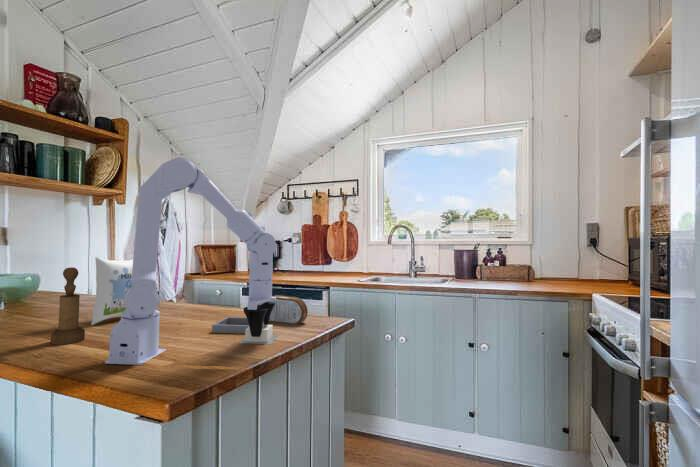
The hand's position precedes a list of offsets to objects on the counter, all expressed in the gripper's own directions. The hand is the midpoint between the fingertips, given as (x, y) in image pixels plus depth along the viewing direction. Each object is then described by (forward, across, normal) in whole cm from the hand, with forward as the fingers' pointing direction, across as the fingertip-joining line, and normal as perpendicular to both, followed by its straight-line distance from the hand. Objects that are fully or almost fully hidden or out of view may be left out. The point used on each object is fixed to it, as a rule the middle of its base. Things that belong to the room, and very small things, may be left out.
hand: (259, 333), depth 92 cm
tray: (+2, +10, +9) cm, 14 cm away
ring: (+1, 0, 0) cm, 1 cm away
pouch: (+2, +20, +49) cm, 53 cm away
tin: (+2, +22, -2) cm, 22 cm away
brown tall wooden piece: (+2, -4, +46) cm, 46 cm away
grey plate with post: (+2, 0, 0) cm, 2 cm away
